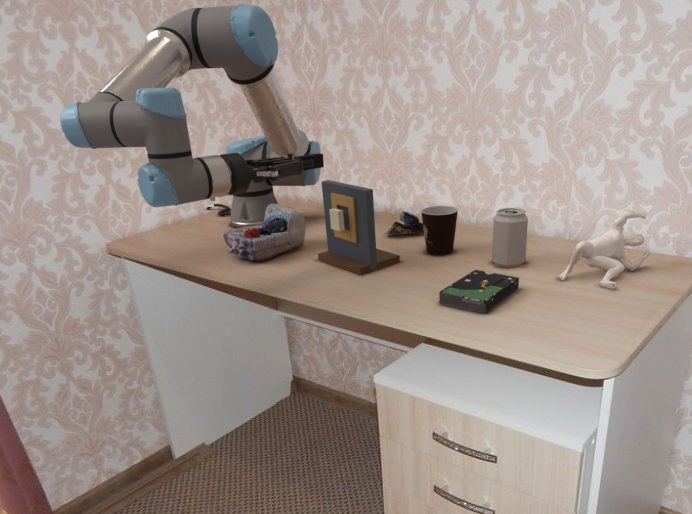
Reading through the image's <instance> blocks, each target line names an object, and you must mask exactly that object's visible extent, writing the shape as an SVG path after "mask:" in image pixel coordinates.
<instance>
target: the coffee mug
mask: <svg viewBox="0 0 692 514" xmlns="http://www.w3.org/2000/svg"><path fill="white" fill-rule="evenodd" d="M420 213H421V221H422V223H423V228H424V230H423V237H424V242H425V249H426V254H427V255H430V256H435V257H437V256H438V257H443V256H449V255H451V254H452V253H454V245H455V237H456V229H457V222H458V215H459V214H458V213H459V209H458V208H457V207H454V206H451V205H434V206H433V205H432V206H427V207H424V208H422V209H421V210H420Z"/></svg>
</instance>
